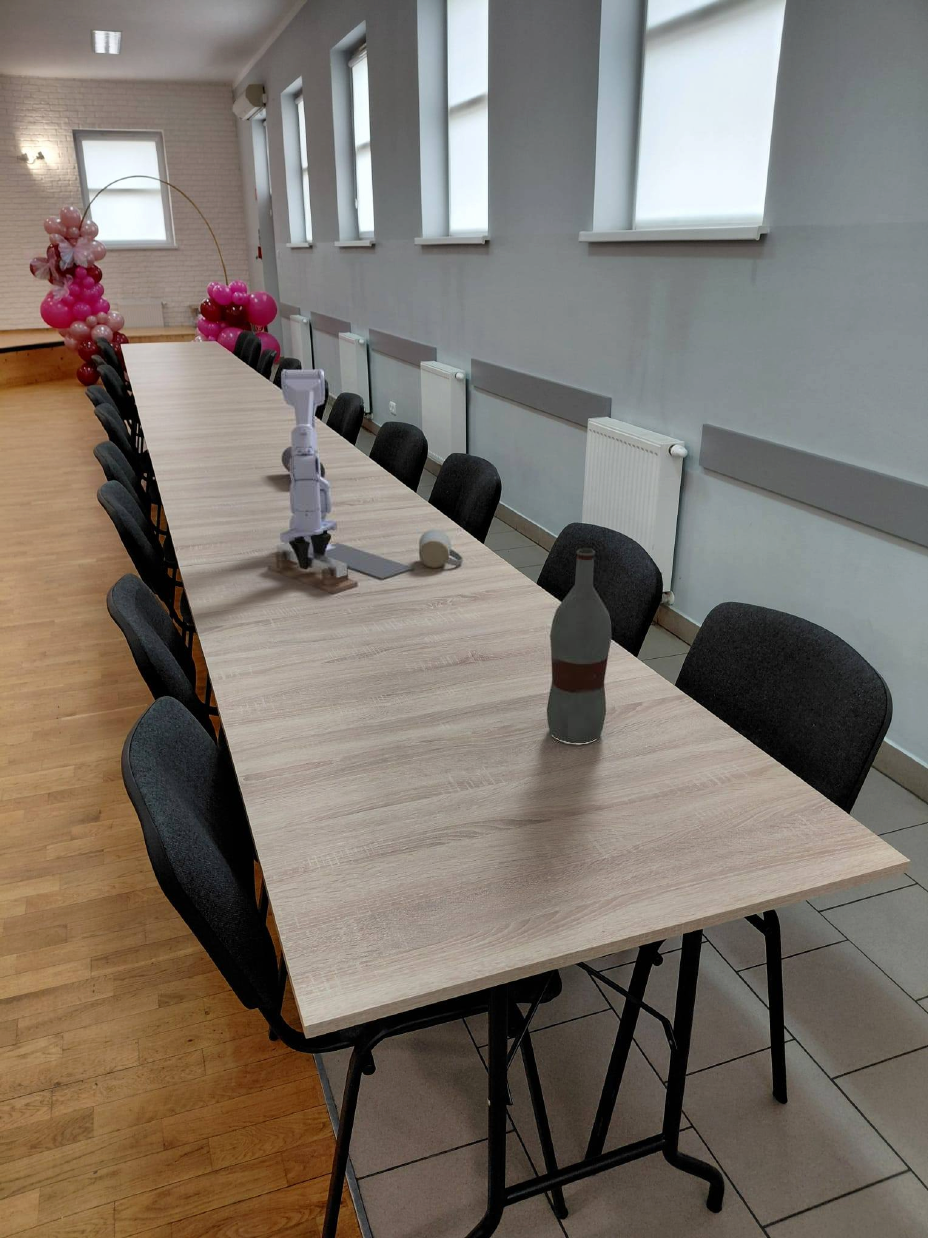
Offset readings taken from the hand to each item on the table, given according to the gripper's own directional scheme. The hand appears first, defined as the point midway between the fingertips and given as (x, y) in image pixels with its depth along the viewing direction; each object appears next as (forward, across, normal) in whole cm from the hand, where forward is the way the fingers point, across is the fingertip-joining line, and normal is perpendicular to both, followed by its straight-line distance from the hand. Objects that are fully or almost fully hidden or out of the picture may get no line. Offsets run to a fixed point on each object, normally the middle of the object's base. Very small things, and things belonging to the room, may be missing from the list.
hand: (311, 566), depth 206 cm
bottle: (+3, -16, -87) cm, 89 cm away
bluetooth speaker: (+3, +55, +75) cm, 93 cm away
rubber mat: (+3, +15, +1) cm, 15 cm away
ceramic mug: (+3, +27, -14) cm, 31 cm away
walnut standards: (+3, 0, 0) cm, 3 cm away
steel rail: (0, 0, 0) cm, 0 cm away
